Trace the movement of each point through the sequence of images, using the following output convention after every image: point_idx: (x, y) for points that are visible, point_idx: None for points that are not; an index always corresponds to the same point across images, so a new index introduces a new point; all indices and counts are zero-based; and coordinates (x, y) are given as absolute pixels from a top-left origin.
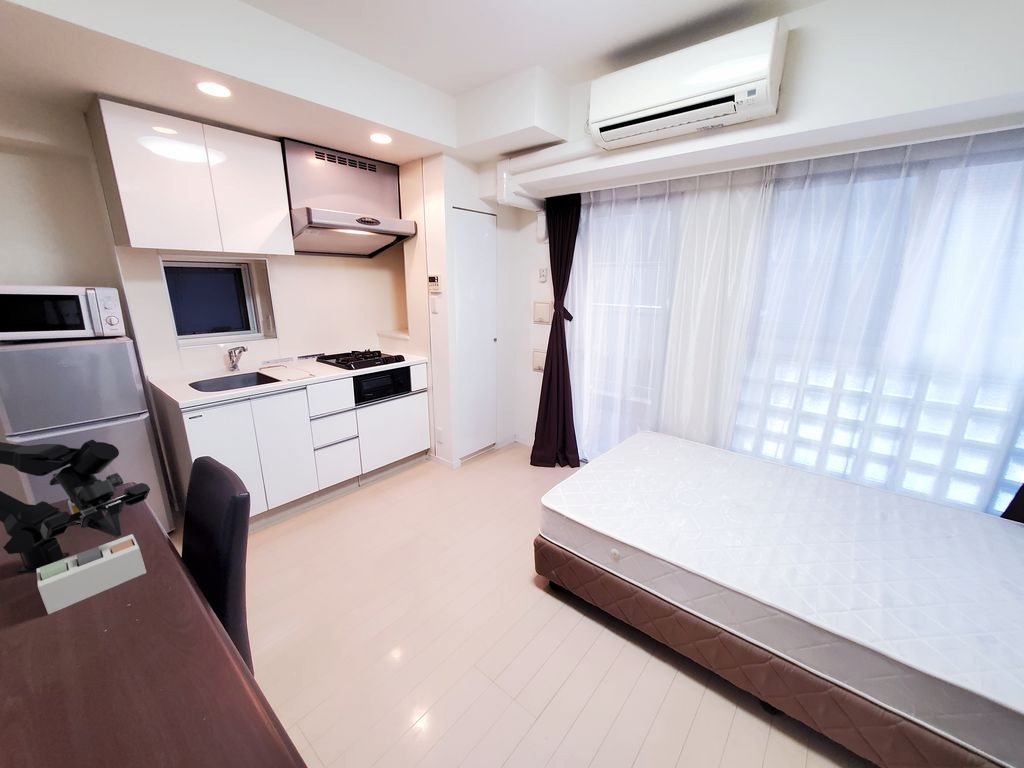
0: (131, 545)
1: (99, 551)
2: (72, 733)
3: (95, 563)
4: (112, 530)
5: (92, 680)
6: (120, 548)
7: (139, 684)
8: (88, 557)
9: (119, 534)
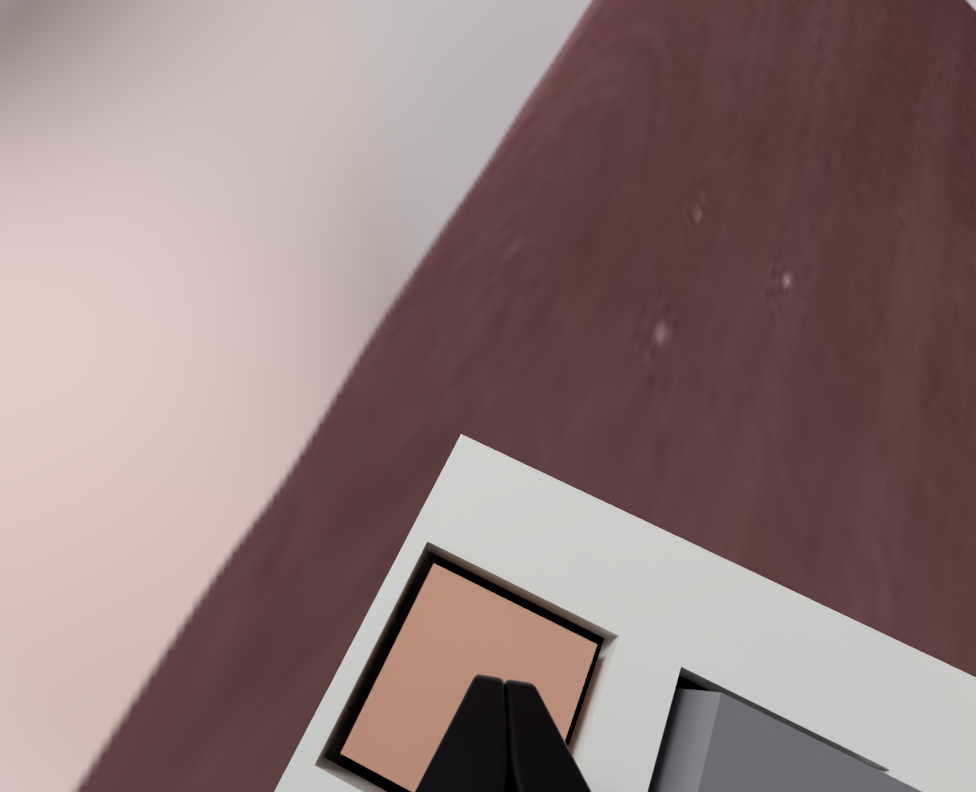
0: (434, 595)
1: (711, 745)
2: (958, 45)
3: (769, 623)
4: (565, 782)
5: (890, 126)
6: (507, 673)
7: (821, 15)
8: (825, 744)
9: (499, 680)
